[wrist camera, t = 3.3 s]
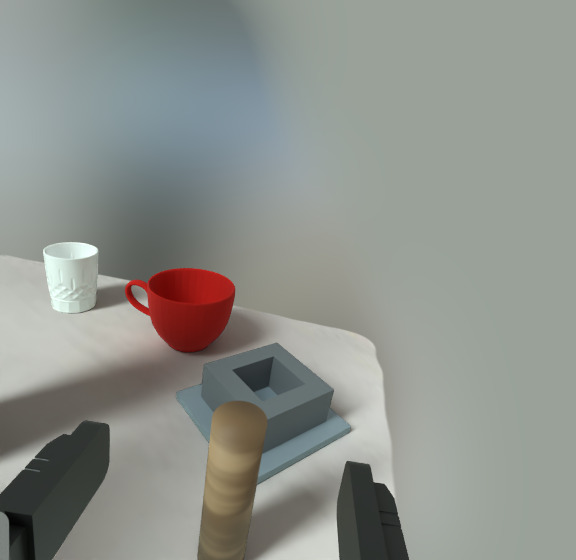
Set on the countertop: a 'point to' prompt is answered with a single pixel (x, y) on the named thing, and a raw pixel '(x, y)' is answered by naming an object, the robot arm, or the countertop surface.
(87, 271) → the white cup
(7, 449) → the countertop surface
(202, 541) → the wooden cylinder
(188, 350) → the ceramic cup
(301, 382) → the socket block
